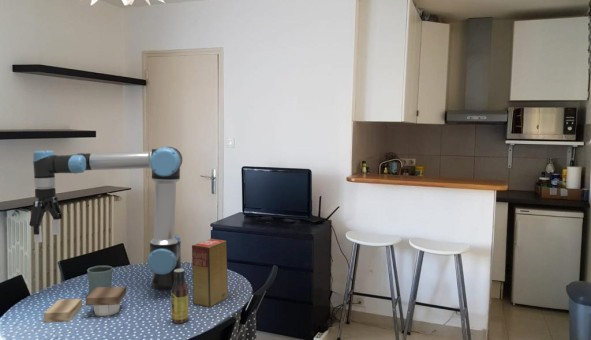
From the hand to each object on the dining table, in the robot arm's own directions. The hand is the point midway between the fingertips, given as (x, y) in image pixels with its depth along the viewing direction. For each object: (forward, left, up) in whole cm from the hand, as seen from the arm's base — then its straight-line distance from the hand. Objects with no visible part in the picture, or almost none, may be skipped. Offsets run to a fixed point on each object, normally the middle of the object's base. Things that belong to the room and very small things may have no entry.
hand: (47, 238), depth 191 cm
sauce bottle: (-58, +27, -27) cm, 69 cm away
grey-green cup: (-20, -4, -27) cm, 34 cm away
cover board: (-28, +15, -22) cm, 38 cm away
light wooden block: (-12, +16, -27) cm, 33 cm away
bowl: (-28, +15, -27) cm, 41 cm away
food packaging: (-68, +7, -27) cm, 73 cm away
